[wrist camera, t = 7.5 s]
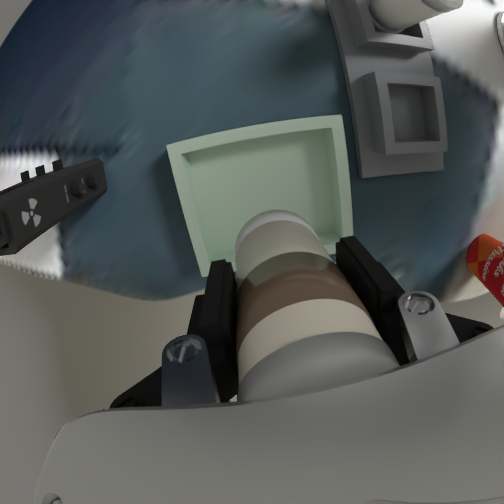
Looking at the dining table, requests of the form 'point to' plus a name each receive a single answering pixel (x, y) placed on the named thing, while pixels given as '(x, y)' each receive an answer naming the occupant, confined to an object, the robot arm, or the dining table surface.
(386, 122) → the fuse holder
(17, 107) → the dining table surface
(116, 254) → the dining table surface
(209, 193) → the parts tray
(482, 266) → the paper cup
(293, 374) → the fuse
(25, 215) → the geiger counter
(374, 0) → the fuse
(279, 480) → the robot arm
